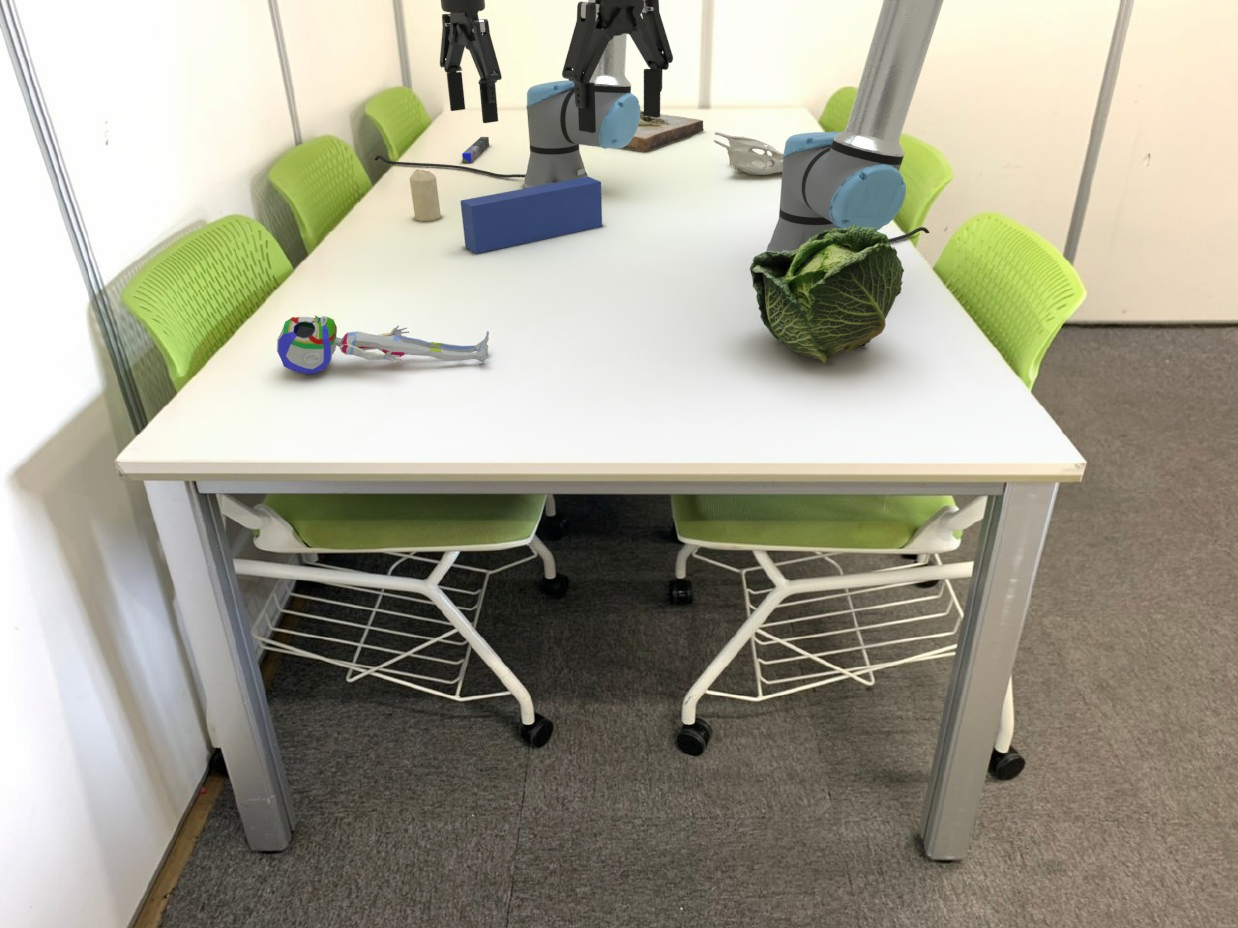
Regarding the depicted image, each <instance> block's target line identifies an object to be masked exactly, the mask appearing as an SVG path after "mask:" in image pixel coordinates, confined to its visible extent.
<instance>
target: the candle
mask: <svg viewBox="0 0 1238 928" xmlns="http://www.w3.org/2000/svg"><path fill="white" fill-rule="evenodd" d="M409 183H410V193H411V199H412V207H413V214H414V218H415V220H417V221H421V222H423V221H424V222H429V221H430V222H431V221H434V220H438V219H440V218H441V207H440V200H439V199H440V198H439V190H438V182H437V176H436V175H435V174H434V173H432V172H431V171H430V170H424V169H415V170H414V172H413V173H412V174H411V175H410V177H409Z"/></svg>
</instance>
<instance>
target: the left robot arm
mask: <svg viewBox="0 0 1238 928" xmlns="http://www.w3.org/2000/svg"><path fill="white" fill-rule="evenodd" d="M587 2H593V3H595V0H587ZM440 6H441V9H442V11H443V12H445V13H442V14H441V22H442V28H441V29H442V30H441V41H440V53H439V66H440V68H443V69H444V72H445V73H446V80H447V81H446V82H447V89H448V98H449V107H450V111H451V112H455V111H464V110H466V101H465V92H464V91H465V90H464V82H463V81H464V80H463V72H462V71H463V68H462V66H461V64H462V60H463V56H464V52H465V49H466V50H467V51H469V54H470V56H471V59H472V61H473V64H474V65H475V68H476V71H477V73H478V76H479V80H478V82H477V83H478V85H479V95H480V106H481V120H482V123H483V124H490V123H497V122H499V114H498V113H499V111H498V102H497V88H496V83H498V81H501V80H502V78H503V77H502V76H503V75H502V72H501V69H500V65H499V61H498V58H497V54H496V51H495V47H494V43H493V40H492V35H491V32H490V31H491V30H490V24H489V20H488V19H487V18H481V19H480V18H479V12H483V11H484V10H485V9H486V1H485V0H440ZM595 21H596V20H595ZM602 29H603V28H602ZM627 41H628V34H622V35H619V36H614V37H613V39H612V40H610V41H609V42H608V44H607V46H606V48H605V50H604V52H603V55H602V57H601V59H600V61H599V63H598V65H597V67H596V69H595V71H594V73H593V75H592V77H591V79H590V81H589V82H591V83H595V117H596V132H595V133H589V132H584V131H580V130H579V117H578V107H576V104H575V85H574V82H572V81H569V79H566V80H557V81H549V82H545V83H539V84H535V85H532V86H531V87H529V88H528V90H527V92H526V105H525V106H526V107H525V108H526V113H527V114H526V115H527V127H528V140H529V141H528V142H529V157H528V162H527V168H526V172H525V174H520V173H519V174H518V173H517V174H516V173H515V174H512V173H511V174H501V173H496V172H491V171H487V170H483V169H478V168H475V167H474V168H473V167H468V166H463V165H455V164H444V163H429V162H427V163H426V162H409V161H408V162H407V161H395V160H394V161H393V160H388V159H386V158H385V157H384V156H382V155H377V156H375V158H374V161H379V159H380V160H382V161H383V162H384V163H386V164H390V165H400V166H414V167H415V166H416V167H436V168H448V169H449V168H450V169H458V170H465V171H471V172H476V173H479V174H484V175H488V176H492V177H497V178H504V179H505V178H508V179H509V178H510V179H511V178H524V180H523V183H524V189H525V188H530V187H536V186H541V185H546V184H552V183H557V182H562V181H568V180H573V179H579V178H584V177H589V175H588V173H587V171H586V168H585V164H584V161H583V158H582V156H581V153H580V146H581V145H582V146H589V147H591V146H592V147H598V148H601V149H605V150H606V149H618V150H619V149H624V148H623V147H625V146H626V145H627V144H628V143H629V142H630V141H631V140H632V138H633V137H634V135H635V133H636V131H637V128H638V125H639V121H640V110H641V105H640V100H639V98H638V97H637V96H636V95H635V94H633V93H632V83H631V82H630V81H629V80H628V78H627V77H626V63H627V62H626V61H627Z"/></svg>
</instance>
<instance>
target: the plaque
mask: <svg viewBox="0 0 1238 928" xmlns="http://www.w3.org/2000/svg"><path fill="white" fill-rule="evenodd" d="M704 130H705V129H704V120H702V119H698V118H693V117H685V116H679V115H669V114H663V113H660V117H658V118H655V117H650V116H644V110H642V109H640V121H639V125H638V128H637V131H636V133H635V135H634V137H633V138H632V140H631V141H630V142H629V143H628V144H627V145H626V146H625V147H623V148H622V149H625V150H632V151H640V152H648V151H654V150H656V149H659V148H662V147H663V146H664V147H665V146H667V145H670V144H672V143H676V142H680V141H682V140H684V139H687V138H691V137H692V136H694V135H696V134H698V133H700V132H704Z"/></svg>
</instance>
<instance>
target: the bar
mask: <svg viewBox="0 0 1238 928" xmlns="http://www.w3.org/2000/svg"><path fill="white" fill-rule="evenodd" d="M459 201H460V208H461V211H460V212H461V218H462V219H461V220H462V229H463V237H464V246H465V249H467V250H469V251H471V252H472V253H474V254H475V255H478V254H483V253H488V252H491V251H496V250H500V249H501V250H502V249H505V248H510V247H515V246H519V245H524V244H525V245H526V244H529V243H533V242H538V241H543V240H547V239H552V238H556V237H561V236H566V235H570V234H575V233H579V232H584V231H588V230H593V229H598V228H602V227H603V204H602V203H603V201H602V181H600V180H598V179H595V178H593V177H590V176H588V177H584V178H579V179H573V180H568V181H562V182H557V183H552V184H546V185H541V186H536V187H530V188H525V187H524V188H520V189H515V190H509V191H504V192H499V193H494V194H488V195H482V196H478V197H477V196H476V197H471V198H466V199H460V200H459Z"/></svg>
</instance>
